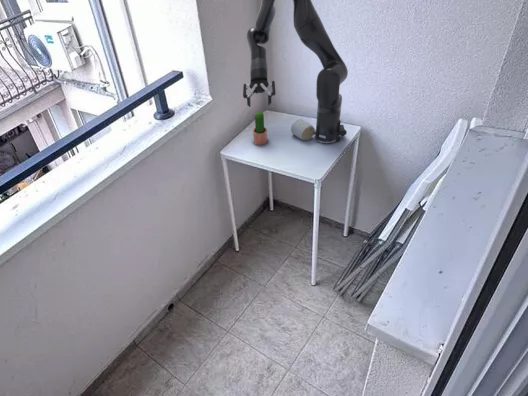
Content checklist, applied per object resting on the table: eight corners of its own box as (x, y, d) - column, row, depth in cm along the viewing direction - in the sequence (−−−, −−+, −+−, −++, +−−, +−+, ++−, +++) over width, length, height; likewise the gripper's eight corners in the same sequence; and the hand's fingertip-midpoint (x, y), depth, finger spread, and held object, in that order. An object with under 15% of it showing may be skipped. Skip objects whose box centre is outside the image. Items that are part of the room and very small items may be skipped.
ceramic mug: (302, 143, 161) (303, 128, 156) (290, 136, 167) (290, 122, 162) (321, 135, 163) (322, 120, 158) (308, 128, 169) (309, 114, 164)
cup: (267, 138, 170) (266, 126, 166) (267, 145, 165) (266, 133, 161) (253, 139, 172) (253, 127, 168) (253, 146, 167) (252, 134, 163)
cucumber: (264, 138, 169) (263, 109, 159) (264, 143, 166) (263, 113, 157) (256, 139, 170) (254, 110, 161) (256, 143, 167) (254, 114, 158)
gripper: (242, 69, 162) (242, 104, 160) (275, 65, 158) (275, 101, 156) (243, 75, 169) (244, 109, 168) (275, 72, 165) (275, 106, 164)
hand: (259, 105), depth 162 cm, fingers open, 8 cm apart
